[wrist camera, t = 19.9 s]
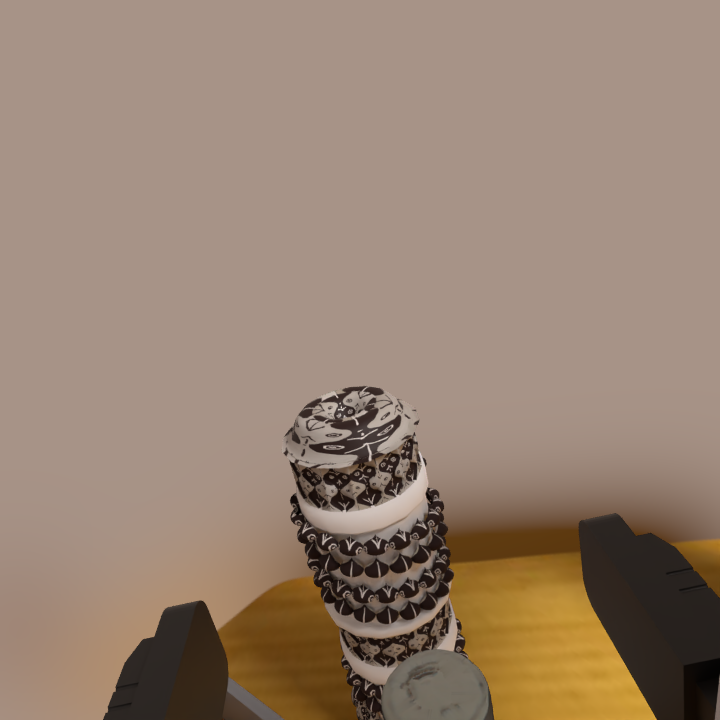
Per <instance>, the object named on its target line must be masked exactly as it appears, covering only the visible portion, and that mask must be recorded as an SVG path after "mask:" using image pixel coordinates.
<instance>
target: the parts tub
mask: <svg viewBox="0 0 720 720" xmlns="http://www.w3.org/2000/svg"><path fill="white" fill-rule="evenodd" d="M222 718H223V719H224V720H284V719H283V718H282V717H280V716H279V715H278V714H277V713H275V712H274V711H273V710H271V709H270V708H269V707H267V706H266V705H265V704H263V703H262V702H261V701H260V700H258V699H257V698H256V697H254V696H253V695H252V694H250V693H249V692H248V691H247V690H245V689H244V688H243V687H241V686H240V685H239V684H237V683H236V682H235V681H233V680H232V679H231V678H230V677H228V687H227V693H226V699H225V704H224V710H223V716H222Z"/></svg>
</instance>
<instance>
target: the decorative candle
mask: <svg viewBox="0 0 720 720" xmlns="http://www.w3.org/2000/svg"><path fill="white" fill-rule="evenodd" d="M418 423H419V417H418V414H417V412H416V409H415V408H414V407H413V406H411V405H409V404H408V403H406V402H404V401H402V400H399V399H396V398H395V397H394V396H393V395H391V394H389V393H388V392H386V391H384V390H383V389H380V388H374V387H368V386H363V387H349V388H345V389H340V390H336V391H333V392H330V393H328V394H325V395H323V396H320V397H318V398H317V399H315V400H313V401H312V402H310V403H309V404H307V405H306V406H305V407H304V409H303V410H302V411H301V412H300V414H299V415H298V416H297V418H296V420H295V423H294V425H293V426H292V427H291V429H290V430H289V431H288V432H287V434H286V435H285V436H284V437H283V445H282V452H283V453H284V454H285V455H286V457H288V459H289V461H290V465H291V468H292V471H293V474H294V478H295V481H296V484H297V490H296V493H295V494H294V495H293V496H292V497H291V499H290V503H291V505H292V507H293V508H294V510H293V512H292V514H291V521H292V522H293V523H294V524H295V525H298V526H301V527H300V529H299V531H298V534H297V538H298V540H299V542H301V543H304V544H306V546H305V553H306V555H307V556H308V557H309V559H308V562H307V564H308V566H309V568H310V569H311V570H313V571H317V572H316V573H315V575H314V584H315V585H316V586H317V587H320V588H322V590H321V597H322V599H323V600H324V602H325V607H326V610H327V611H328V613H329V614H330V616H331V617H332V619H333V621H334V622H335V624H336V625H337V626H339V629H340V642H341V649H342V650H343V652H344V655H343V657H342V660H341V663H342V667H343V668H344V669H346V670H349V672H348V674H347V683H348V684H349V685H351V686H353V689H352V695H351V696H352V702H353V704H354V705H355V706H356V707H357V709H356V712H357V717H358V720H384V719H383V715H382V706H381V696H382V691H383V687H384V685H385V684H386V682H387V679H388V677H389V676H390V674H391V673H392V672H393V671H394V670H395V669H396V667H397V666H398V665H400V664H401V663H402V662H403V661H404V660H406V659H407V658H409V657H411V656H412V655H414V654H416V653H418V652H423V651H426V650H433V649H441V650H448V651H453V652H456V653H459V654H461V655H462V656H464V657H465V658H467V659H468V655H467V654H466V653H465V652H464V651H462V650H463V649H464V646H465V639H464V637H463V636H462V635H461V634H460V632H461V629H462V627H461V623H460V621H459V620H458V619H456V618H455V614H454V611H453V608H452V604H451V601H450V598H449V593H450V588H451V584H452V579H453V577H454V572H453V571H452V570H451V569H450V568H449V565H450V560H449V557H450V555H451V554H450V550H449V549H448V548H447V547H446V546H445V545H446V540H445V537H443V536H444V535H445V534H446V533H447V531H448V527H447V525H446V524H445V523H444V522H443V520H444V516H443V514H442V511H443V509H444V504H443V502H442V501H441V500H440V499H439V492H438V491H437V490H436V489H433V488H428V485H429V483H428V478H427V473H426V468H425V466H426V460H425V459H424V458H423V457H422V455H421V452H420V451H418V443H417V439H416V435H415V429H416V427H417V425H418ZM426 498H427V499H428V500H429V502H430V503H431V504H429V503H427V499H426ZM435 526H436V530H435V531H434V530H433V528H432V527H435Z"/></svg>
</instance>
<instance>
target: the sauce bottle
mask: <svg viewBox="0 0 720 720" xmlns="http://www.w3.org/2000/svg"><path fill="white" fill-rule="evenodd" d="M381 706H382V715H383V719H384V720H494V716H493V706H492V701H491V695H490V691H489V687H488V684H487V681H486V679H485V677H484V675H483V674H482V672H481V671H480V669H479V668H478V667H477V666H475V665H474V664H473V663H472V662H471V661H470V660H469V659H467V658H465V657H464V656H462V655H461V654H459V653H456V652H453V651H448V650H441V649H433V650H426V651H423V652H418V653H416V654H414V655H412V656H411V657H409V658H407V659H406V660H404V661H403V662H402V663H401V664H400V665H398V666H397V667H396V669H395V670H394V671H393V672H392V673H391V674H390V676H389V677H388V679H387V682H386V684H385V685H384V687H383V691H382V696H381Z"/></svg>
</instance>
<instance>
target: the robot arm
mask: <svg viewBox="0 0 720 720" xmlns="http://www.w3.org/2000/svg"><path fill="white" fill-rule="evenodd" d="M579 537H580V549H581V560H582V571H583V580H584V585H585V588H586V592H587V595H588V598H589V600H590V603H591V605H592V607H593V609H594V611H595V613H596V614H597V616H598V618H599V620H600V621H601V623H602V625H603V627H604V628H605V630H606V632H607V634H608V635H609V637H610V639H611V640H612V642H613V644H614V646H615V647H616V649H617V651H618V653H619V654H620V656H621V658H622V660H623V661H624V663H625V665H626V666H627V668H628V670H629V672H630V673H631V675H632V677H633V679H634V680H635V682H636V684H637V686H638V687H639V689H640V691H641V693H642V694H643V696H644V698H645V699H646V701H647V703H648V705H649V706H650V708H651V710H652V712H653V713H654V715H655V717H656V719H657V720H720V598H719V597H718V596H717V595H716V594H715V592H714V591H713V590H712V589H711V588H708V586H707V583H706V582H705V581H704V580H703V579H702V577H701V576H700V575H699V574H698V573H697V572H696V571H695V572H694V570H693V567H692V566H691V565H690V564H689V562H688V561H687V560H686V559H685V558H684V557H683V555H682V554H681V553H680V552H679V551H678V550H677V549H676V548H675V547H674V546H672V545H670V544H669V543H667V542H665V541H664V540H662V539H660V538H659V537H657V536H655V535H653V534H652V533H648V534H644V535H639V536H635V534H634V533H633V532H632V530H631V529H630V528H629V526H628V525H627V524H626V523H625V521H624V520H623V519H622V518H621V517H620V516H619V515H618V514H616V513H614V514H610V515H605V516H601V517H595V518H591V519H586V520H581V521H580V523H579ZM227 687H228V662H227V657H226V653H225V650H224V648H223V645H222V643H221V640H220V638H219V635H218V633H217V630H216V628H215V625H214V623H213V621H212V618H211V615H210V613H209V610H208V608H207V606H206V604H205V603H204V602H203V601H196V602H191V603H186V604H182V605H177V606H172V607H168V608H166V609H165V610H164V612H163V614H162V616H161V619H160V622H159V625H158V628H157V631H156V634H155V637H152V638H147V639H143V640H142V641H141V642H140V644H139V645H138V646H137V648H136V649H135V651H133V653H132V654H131V656H130V657H129V658H128V659H127V661H126V662H125V664H124V666H123V669H122V672H121V674H120V677H119V679H118V682H117V685H116V692H114V693H113V695H112V698H111V700H110V703H109V706H108V713H106V714H105V716H104V719H103V720H222V716H223V710H224V704H225V699H226V693H227Z"/></svg>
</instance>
